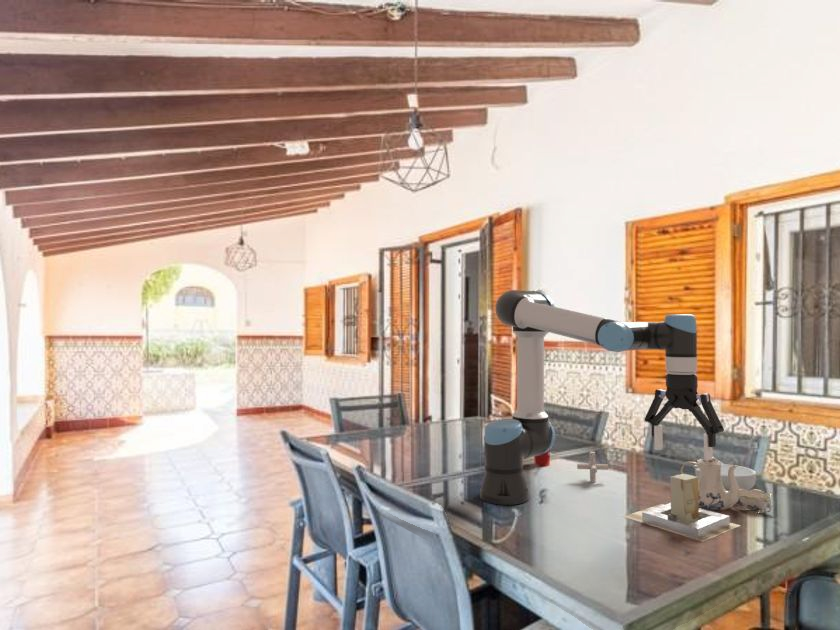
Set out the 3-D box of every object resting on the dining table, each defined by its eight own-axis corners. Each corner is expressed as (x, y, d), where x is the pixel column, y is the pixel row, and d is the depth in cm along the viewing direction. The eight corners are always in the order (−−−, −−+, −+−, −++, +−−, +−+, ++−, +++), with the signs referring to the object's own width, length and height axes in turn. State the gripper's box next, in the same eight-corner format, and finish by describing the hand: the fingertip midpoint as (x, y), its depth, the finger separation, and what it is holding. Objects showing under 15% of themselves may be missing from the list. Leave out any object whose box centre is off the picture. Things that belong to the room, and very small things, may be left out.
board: (703, 545, 131) (703, 541, 131) (623, 520, 149) (623, 516, 149) (740, 529, 141) (740, 525, 141) (661, 507, 159) (661, 503, 159)
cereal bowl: (747, 485, 179) (746, 464, 179) (764, 501, 163) (763, 477, 163) (690, 482, 184) (690, 461, 184) (701, 497, 168) (701, 474, 168)
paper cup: (556, 465, 209) (555, 428, 209) (539, 467, 206) (538, 430, 206) (544, 461, 216) (543, 425, 216) (527, 463, 213) (527, 427, 214)
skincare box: (686, 528, 139) (684, 480, 140) (670, 523, 143) (669, 476, 143) (700, 523, 143) (698, 476, 143) (684, 518, 146) (683, 472, 147)
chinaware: (779, 517, 154) (779, 457, 156) (762, 526, 143) (762, 461, 144) (677, 496, 174) (677, 443, 176) (654, 503, 163) (655, 446, 165)
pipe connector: (610, 486, 181) (609, 455, 181) (578, 485, 183) (578, 455, 183) (606, 478, 190) (605, 449, 191) (576, 477, 192) (575, 448, 193)
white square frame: (698, 539, 132) (697, 524, 132) (642, 521, 145) (642, 508, 145) (729, 525, 141) (729, 512, 141) (674, 510, 153) (674, 497, 153)
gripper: (738, 375, 136) (739, 461, 135) (646, 369, 156) (647, 444, 156) (722, 377, 131) (723, 466, 131) (630, 370, 152) (631, 447, 152)
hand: (682, 454), depth 143 cm, fingers open, 13 cm apart
